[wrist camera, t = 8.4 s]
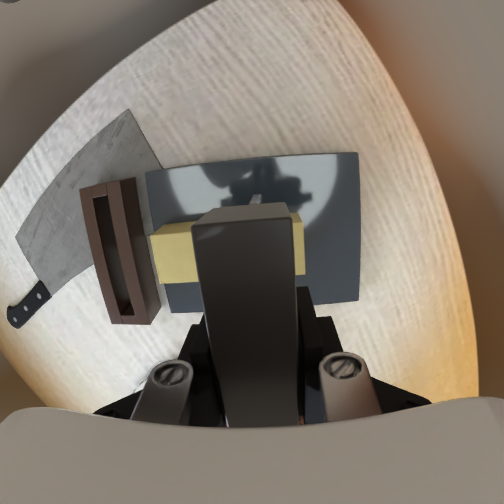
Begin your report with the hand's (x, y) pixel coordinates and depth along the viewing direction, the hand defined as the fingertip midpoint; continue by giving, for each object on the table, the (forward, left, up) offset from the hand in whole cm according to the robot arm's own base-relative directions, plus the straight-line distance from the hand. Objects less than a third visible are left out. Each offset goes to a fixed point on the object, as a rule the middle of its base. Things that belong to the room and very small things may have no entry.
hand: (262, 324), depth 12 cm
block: (-12, 0, -13) cm, 17 cm away
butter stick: (-4, 0, -12) cm, 12 cm away
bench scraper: (0, 0, -4) cm, 4 cm away
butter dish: (-1, 0, -13) cm, 13 cm away
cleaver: (-21, +1, -13) cm, 25 cm away
